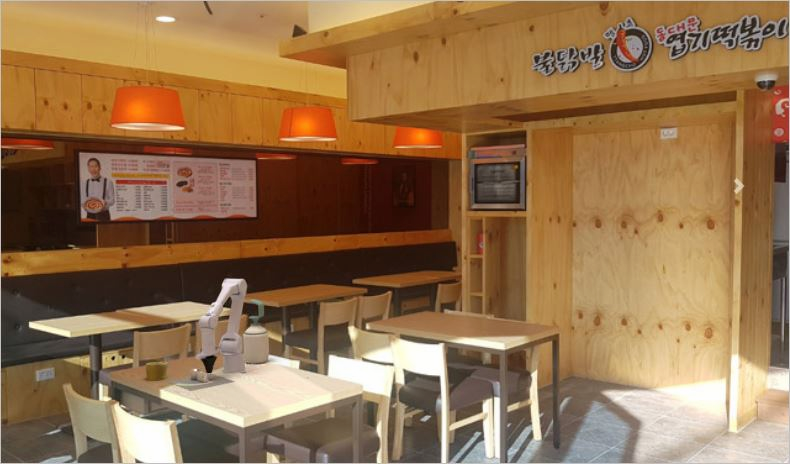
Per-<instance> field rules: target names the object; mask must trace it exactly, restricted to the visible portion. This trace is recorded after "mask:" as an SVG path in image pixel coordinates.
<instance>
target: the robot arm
mask: <svg viewBox="0 0 790 464" xmlns="http://www.w3.org/2000/svg"><path fill="white" fill-rule="evenodd" d="M247 289H248V284H247V282H246V279H244V278H228V277H227V278H224V280H223V282H222V284H221V291H220V293H219V295H218V296H217V299H216V300H215V302H212V303H211V304H210V306H209V308H208V309H207V310H206V312H205V314H204V315H202V316H201V317H199V320H198V327H199V331H200V333H201V351H200V353H198V354H196V355H195V360H196V361H201V362H202V364H203V366H204V369H205V372H206V373H207V374H213V370H214V366H215V363H216V361H217V358H218V356H217V355H222V362H223V363H222V366H223V367H222V369H223V373H225V374H233V373H240V374H243V373H246V360H245V358H244V353H242V351H243V349H244V344H243V336H241V335H240V334H239V332H240V324H241V321H242V314H243V308H244V307H243V306H244V302H245V297H246V294H247ZM229 298H231V300H232V301H231V306H230V312H229V318H228V322H227V323H228V324H227V330H226V333H223V335H222V336H221V337H220V341H219V344H218V348H217V349H216V331H215V330H216V328H217V326H218V322H219V317H220V316H221V314H222V312H223V311H224V307H223V306H224V304H225V303H226V302H227V300H228V299H229Z"/></svg>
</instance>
